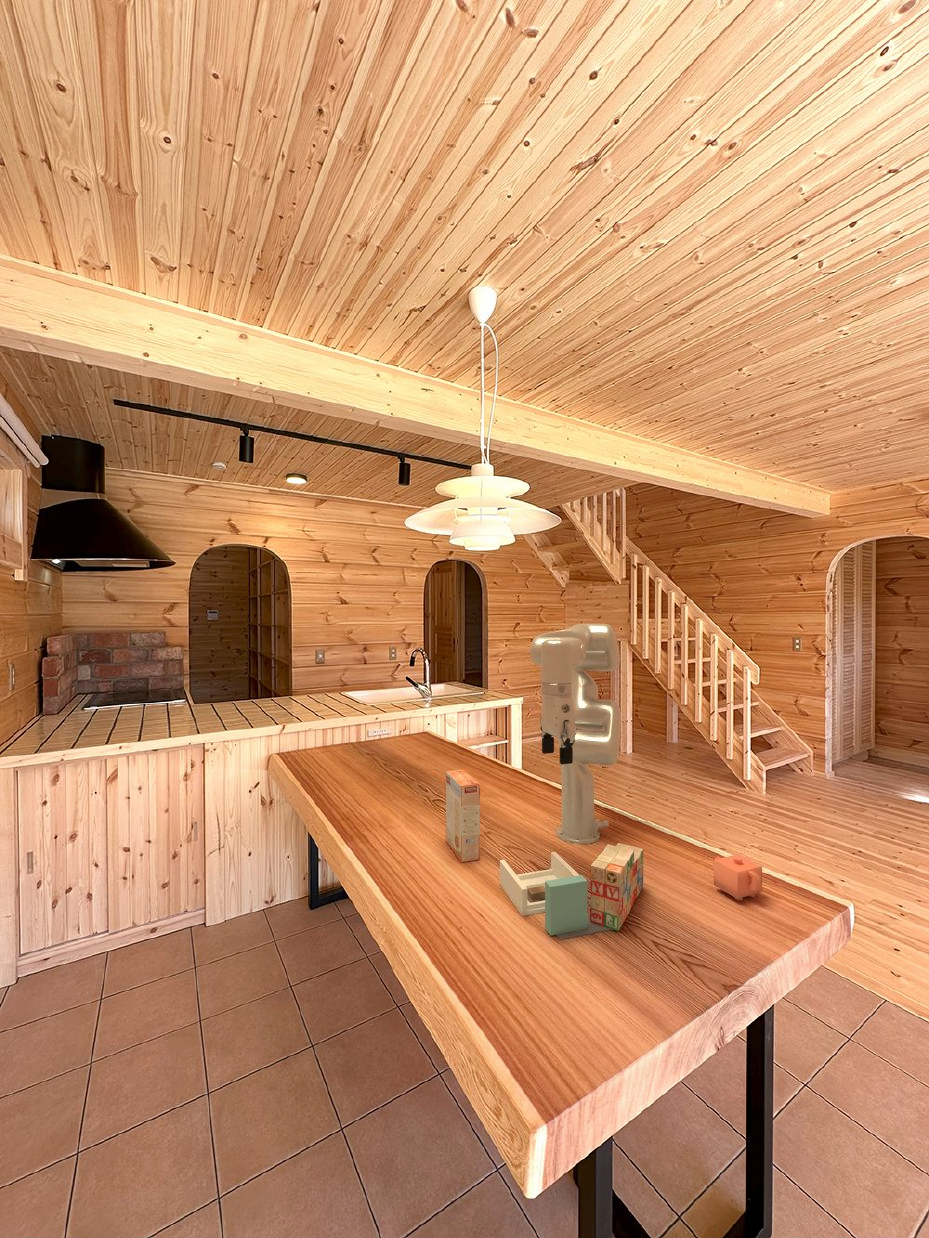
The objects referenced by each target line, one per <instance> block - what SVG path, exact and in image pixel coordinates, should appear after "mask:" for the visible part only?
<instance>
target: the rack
mask: <svg viewBox="0 0 929 1238" xmlns="http://www.w3.org/2000/svg"><path fill="white" fill-rule="evenodd" d="M578 875H580V874H579V873H578V872H577V871H576V870H575V869H574V868H573V867H572V866H571V865H570V864H568V862H566V861H565V859H564V858H562V857H561V855H559V854H558V853H557V852H556V851H552V852H550V868H549V869H544V870H538V871H532V872H526V873H525V872H524V873H519V874H516V872H514V870H513V869H512V868H511V866H510V865H509V864H508V863H507V861H506V859H500V860H499V885H500V887H501V888H502V890H503V891H504V892H505V893H506V895H507V896H508V898H509V900H511V902H512V903H513V906H514V907H515V908H516V909H517V911H518V912H519V913H520V915H521V916H522V917H525V916H529V915H536V914H537V915H538V914H542V913H545V900H544V901H538V902H533V903H530V902H529V901H528V900H527V888H532V887H538V886H544V887H545V881H549V880H555V879H560V878H566V877H572V876H578Z"/></svg>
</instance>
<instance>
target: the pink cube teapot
mask: <svg viewBox="0 0 929 1238" xmlns="http://www.w3.org/2000/svg"><path fill="white" fill-rule="evenodd" d="M713 885H714V886H715V887H717V889H718V888H719V889H720V891H721V892H722V893H727V894H728V895H730V896H732V897H733V898H734V899H735V901H740V902H742V901H743V900H744V899H743V898H746V897H749V898H756V895H757V894H760V893H763V866H761V865H760V864H758V863H756V862H754V861H752V860H750V859H748V858H746V857H744V856H742V855H740V854H732V855H728V856H725V857H721V856H716V857H714V859H713Z"/></svg>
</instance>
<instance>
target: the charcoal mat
mask: <svg viewBox="0 0 929 1238" xmlns="http://www.w3.org/2000/svg"><path fill="white" fill-rule="evenodd" d="M610 931H614V929H611V928H608V927H605V926H602V925H599V924H596V923H593V922H590V913H588V928H586V929H581V930H576V931H571V932H566V933H562V934H557V935H556V937H557V938H558V940H560V941H562V940H564V941H565V940H569V939H574V938H579V937H583V936H584V937H585V936H589V935H594V934H600V933H605V932H610Z"/></svg>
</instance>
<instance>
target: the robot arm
mask: <svg viewBox="0 0 929 1238" xmlns="http://www.w3.org/2000/svg"><path fill="white" fill-rule="evenodd" d="M618 645H619V644H618V639H617V635H616V632H615V630H614V629H613V627H612V626H611V625H610V624H608V623H576V624H573V625H572V626H570V627H568V628H567V629H560V630H557V631H549V632H545V633H544V632H543V633H541V634H538V635H536V636H535V637H534V638H533V640H532V642H531V644H530V646H529V656H530V659H531V661H532V663H533V664H535V665H537V666H540V668H541V669H540V680H541V682H540V686H541V687H540V695H541V697H542V699H541V711H540V713H541V715H540V718H539V722H540V723H539V724H540V730H541V733H540V736H541V753H542V754H544V755H546V754H554V753H555V738H556V739H558V743H557V744H558V753H559V764H560V767H561V772H560V773H561V825H560V826H558V827H557V828H556V836H557V837H558V838H559V839H560V840H561V841H563V842H564V841H565V842H568V843H570V844H577V845H578V844H580V845H590V844H593V843H596V842H598V841H599V840H600V837H601V836H600V834H601V833H600V831H599V830H601V829H605V828H609V827H610V822H609V821H608V820H601V819H600V818H595V777H594V775H593V774H594V773H592V770H591V769H590V768H589V767H588V765H598V766H609V767H610V766H614V765H616V764H617V762H618V760H619V757H620V744H621V743H620V742H621V726H622V713H621V709H620V706H619V704H618V703H617V702H616V701H614V700H610V699H600V698H599V699H598V695H599V687H598V685H597V683H596V681H595V680H594V678H592V677H591V676H590V675H589V673H587V672H586V671H588V672H589V671H590V672H614V671H616V670H617V669H618V668H619V666H620V662H621V661H620V659H621V658H620V657H621V656H620V649H619V646H618Z"/></svg>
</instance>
